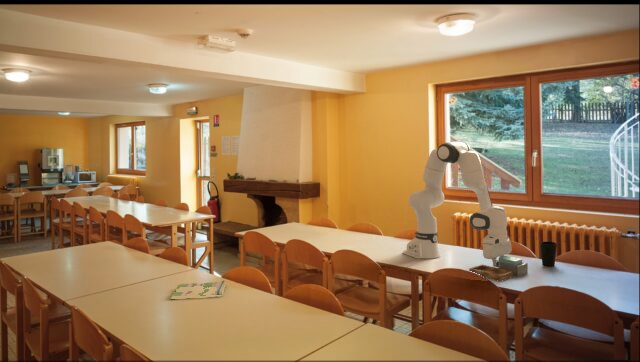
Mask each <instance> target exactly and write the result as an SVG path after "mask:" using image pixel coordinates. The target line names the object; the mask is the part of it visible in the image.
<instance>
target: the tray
mask: <svg viewBox="0 0 640 362" xmlns="http://www.w3.org/2000/svg"><path fill="white" fill-rule="evenodd" d="M468 270H469V271H472V272H475V273H477V274H480V275H482V276H484V277H483V278H486V277H487V279H490V278H491V280H493V279H494V281H497V280H498V281H497V282H502V280H503V281H505V279H506V280H508V279H511V278H513V276H514V272H513V271H509V270H504V269H500V268H498V267H494V266H490V265H486V264H480V265H475V266H472V267H470V268H468ZM482 276H481V277H482ZM510 277H511V278H510ZM514 277H515V276H514Z"/></svg>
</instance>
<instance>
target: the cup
mask: <svg viewBox="0 0 640 362" xmlns="http://www.w3.org/2000/svg"><path fill="white" fill-rule="evenodd" d="M557 247H558V243H557V242H554V241H540V255H541V265H542V266H543V267H545V268H553V267H555V265H556V255H557Z"/></svg>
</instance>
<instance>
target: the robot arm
mask: <svg viewBox="0 0 640 362" xmlns="http://www.w3.org/2000/svg"><path fill="white" fill-rule="evenodd" d="M448 164H457V165H458V167H459V169H460V174H461V175H460V176H461V180H462V183H463V185H464V186H465V187H466V188H468V189H469V190H471V191H473V192H474V193H475V195H476V197H477V201H478V204H479V208H480V210H479V211H476V212H474V213H472V214H471V215H470V216H469V217H470V218H469V224H470V226H471V228H473V230H475V231H483V230H484V231H485V230H487V231H488V234H487V235H486V236H485V237H483V238H482V243H483V244H482V256H483V258H484V259H486V260H491V261H492V266H493V265H495V266H496V265H498V262H497V261H496V260H498V259H499V258H500V257H503V256H506V255H508V254H511V253H512V250H513V249H512V242H511V239H510V237H509V235H508V230H507V225H508V215H507V211H506V209H505V208H504V207H502V206H498V205H493V202H492V198H491V196H490V192H489V188H488V185H487V183H486V179H485V174H484V170H483V165H482V162H481V159H480V156H479V154H478V153H477V152H476V151H474V150H471V147H470V145H469V143H468V142H467V143H466V142H464V141H449V142H444V143H441V144H440V145H439V146H438V147H437V148H434V149H433V150H432V151H430V154H429V155H428V158H427V161H426V164H425V167H424V171H423V175H422V180H423V182H424V184H425V187H424V189H422V190H421V189H420V190H417V191H414V192H412V193H411V194H409V197H408V205H409V206H410V208H411V209H413V211H414V213H415V216H416V221H417V222H416V225H417V227H416V228H417V231H416V232H414V233H413V235H415V236H414V238H412V239H411V240H410V241H408V242H407V244H406V249H405V250H403V251H402V254H404V255H406V256H409V257H411V258H415V259H436V258H440V257H441V254H440V250H439V244H438V237H439V235H438V234H439V233H438V227H437V226H438V220H437V217H436V216H434V214H433V212H432V209H433V208H437V207H439V206H441V205H442V204H444V202H445V194H444V192H443V188H442V187H443V186H442V185H443V181H444V176H445V172H446V168H447V166H448ZM497 258H498V259H497Z"/></svg>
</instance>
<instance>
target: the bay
mask: <svg viewBox="0 0 640 362" xmlns="http://www.w3.org/2000/svg"><path fill="white" fill-rule="evenodd" d="M528 266H529V265H528V262H523V261H522V264H521V265H518V266H515V265H510V264H505V263H500V269H504V270H509V271H513V272H514V277H516V276H517V277H516V278H519V277H521V275H522V276H524V275H526V273H527V274H528V273H529V272H528V271H529V270H528V269H529V268H528ZM518 276H519V277H518Z"/></svg>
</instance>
